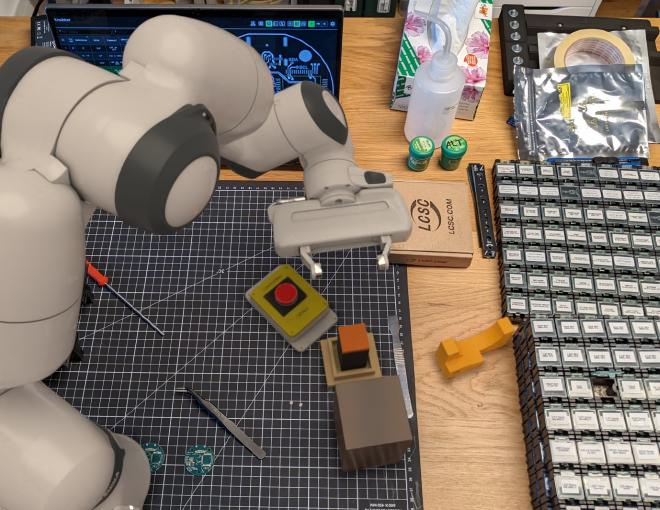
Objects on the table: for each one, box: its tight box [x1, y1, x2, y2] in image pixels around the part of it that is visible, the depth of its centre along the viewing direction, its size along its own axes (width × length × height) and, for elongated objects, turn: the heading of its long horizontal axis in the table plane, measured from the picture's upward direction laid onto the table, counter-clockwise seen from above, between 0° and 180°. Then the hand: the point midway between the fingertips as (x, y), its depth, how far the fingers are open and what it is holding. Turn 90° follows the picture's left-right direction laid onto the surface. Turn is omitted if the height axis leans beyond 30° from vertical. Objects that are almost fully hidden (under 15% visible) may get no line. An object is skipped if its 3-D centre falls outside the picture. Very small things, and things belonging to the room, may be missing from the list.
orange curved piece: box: [434, 316, 516, 380], centre depth 102 cm, size 12×4×6 cm, turn 111°
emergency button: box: [244, 263, 338, 353], centre depth 106 cm, size 9×4×15 cm
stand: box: [332, 374, 414, 473], centre depth 91 cm, size 9×9×16 cm
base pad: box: [319, 331, 383, 388], centre depth 102 cm, size 9×8×3 cm
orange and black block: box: [337, 322, 370, 371], centre depth 99 cm, size 4×4×9 cm
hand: (350, 272), depth 87 cm, fingers open, 8 cm apart
